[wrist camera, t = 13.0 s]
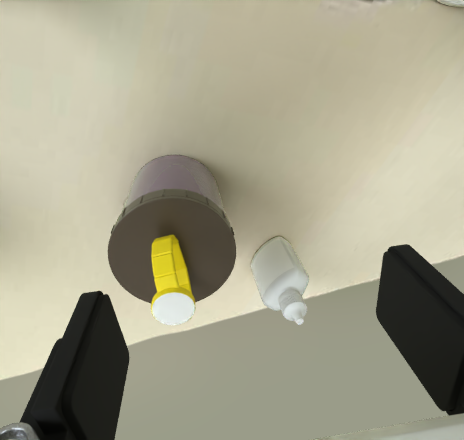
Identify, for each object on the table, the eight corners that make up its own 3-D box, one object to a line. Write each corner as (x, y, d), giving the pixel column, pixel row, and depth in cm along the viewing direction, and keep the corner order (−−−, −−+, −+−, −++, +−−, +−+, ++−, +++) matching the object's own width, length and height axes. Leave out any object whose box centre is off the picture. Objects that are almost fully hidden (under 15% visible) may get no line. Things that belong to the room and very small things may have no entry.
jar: (214, 149, 35) (227, 189, 25) (223, 229, 40) (237, 290, 30) (121, 160, 35) (96, 206, 24) (141, 240, 39) (126, 308, 29)
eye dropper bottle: (243, 248, 41) (265, 316, 31) (286, 231, 41) (323, 294, 30) (254, 274, 43) (278, 347, 33) (295, 259, 43) (332, 327, 33)
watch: (145, 228, 25) (135, 275, 20) (181, 219, 25) (181, 264, 20) (167, 290, 28) (164, 346, 22) (200, 282, 28) (205, 336, 23)
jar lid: (227, 179, 26) (231, 188, 25) (237, 283, 31) (240, 297, 29) (97, 196, 25) (91, 207, 24) (127, 299, 30) (124, 315, 28)
